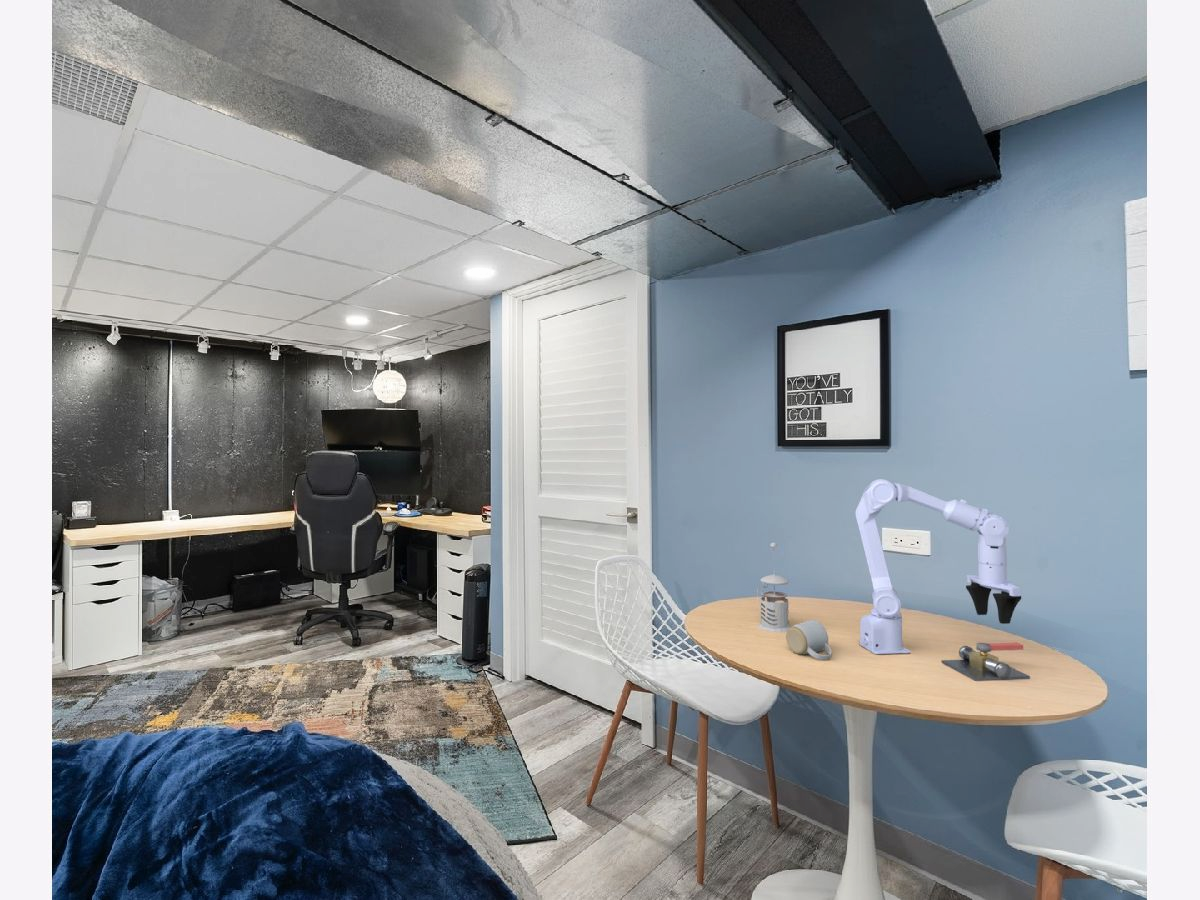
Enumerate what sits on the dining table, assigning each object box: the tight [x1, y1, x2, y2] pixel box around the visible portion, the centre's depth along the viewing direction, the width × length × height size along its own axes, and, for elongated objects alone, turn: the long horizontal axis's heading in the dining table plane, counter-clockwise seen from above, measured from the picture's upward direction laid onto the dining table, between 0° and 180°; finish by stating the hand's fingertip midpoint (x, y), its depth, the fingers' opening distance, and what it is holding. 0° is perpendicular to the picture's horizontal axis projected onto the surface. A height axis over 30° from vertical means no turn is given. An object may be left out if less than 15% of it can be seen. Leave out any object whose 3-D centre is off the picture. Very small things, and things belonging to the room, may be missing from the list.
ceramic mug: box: [785, 619, 832, 661], centre depth 143 cm, size 11×8×8 cm
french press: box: [756, 542, 792, 633], centre depth 166 cm, size 10×12×25 cm
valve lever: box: [975, 642, 1024, 653], centre depth 131 cm, size 10×3×1 cm, turn 94°
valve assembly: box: [941, 645, 1031, 682], centre depth 131 cm, size 12×13×4 cm
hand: (993, 618), depth 136 cm, fingers open, 7 cm apart
